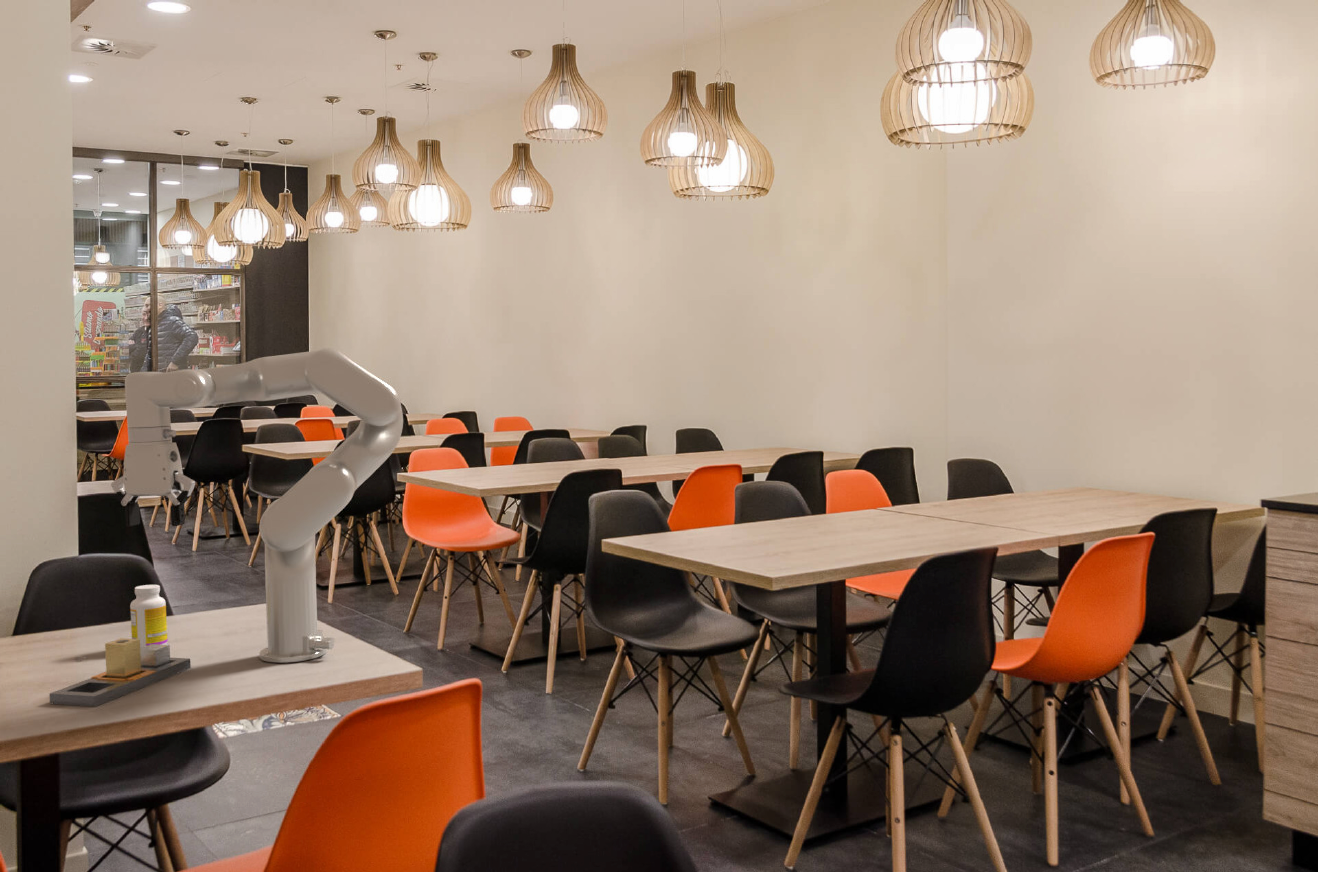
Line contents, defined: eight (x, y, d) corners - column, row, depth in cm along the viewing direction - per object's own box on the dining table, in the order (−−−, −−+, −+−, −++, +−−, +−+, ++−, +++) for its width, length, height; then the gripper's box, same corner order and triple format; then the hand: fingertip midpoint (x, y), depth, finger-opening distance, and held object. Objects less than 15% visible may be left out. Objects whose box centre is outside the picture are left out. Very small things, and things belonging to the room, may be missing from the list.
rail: (190, 667, 209) (190, 657, 209) (94, 706, 185) (94, 694, 185) (150, 665, 211) (149, 655, 211) (50, 703, 187) (49, 692, 187)
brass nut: (141, 682, 199) (139, 639, 199) (125, 688, 195) (123, 644, 195) (123, 681, 200) (121, 638, 200) (107, 687, 196) (105, 643, 196)
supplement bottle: (174, 644, 228) (171, 583, 227) (156, 652, 221) (154, 589, 221) (143, 644, 229) (141, 583, 228) (125, 652, 222) (122, 589, 221)
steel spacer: (170, 671, 207) (169, 645, 207) (156, 676, 203) (155, 650, 203) (152, 669, 208) (151, 644, 208) (137, 675, 204) (136, 649, 204)
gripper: (202, 434, 210) (207, 522, 211) (123, 436, 214) (128, 522, 215) (178, 436, 203) (183, 528, 204) (96, 438, 206) (102, 528, 208)
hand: (155, 525), depth 209 cm, fingers open, 9 cm apart
